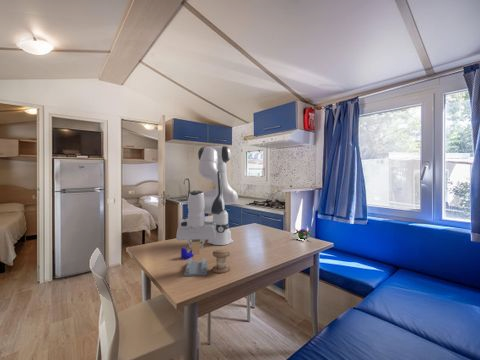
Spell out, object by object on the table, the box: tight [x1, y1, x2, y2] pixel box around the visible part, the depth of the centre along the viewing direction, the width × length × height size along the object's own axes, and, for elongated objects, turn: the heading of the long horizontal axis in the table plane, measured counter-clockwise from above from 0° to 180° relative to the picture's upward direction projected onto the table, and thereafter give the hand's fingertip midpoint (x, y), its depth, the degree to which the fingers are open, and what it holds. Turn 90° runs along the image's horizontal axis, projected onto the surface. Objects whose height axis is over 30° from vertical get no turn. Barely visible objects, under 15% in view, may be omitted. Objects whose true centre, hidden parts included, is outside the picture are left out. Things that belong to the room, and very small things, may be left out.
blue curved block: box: [180, 247, 196, 260], centre depth 140 cm, size 12×4×6 cm, turn 151°
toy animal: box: [293, 228, 314, 240], centre depth 173 cm, size 11×15×10 cm
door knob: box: [212, 249, 231, 274], centre depth 119 cm, size 9×9×9 cm
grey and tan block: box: [191, 240, 201, 255], centre depth 119 cm, size 4×4×7 cm
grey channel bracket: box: [183, 257, 208, 277], centre depth 120 cm, size 16×11×4 cm
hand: (196, 247), depth 119 cm, fingers closed on grey and tan block, 4 cm apart
